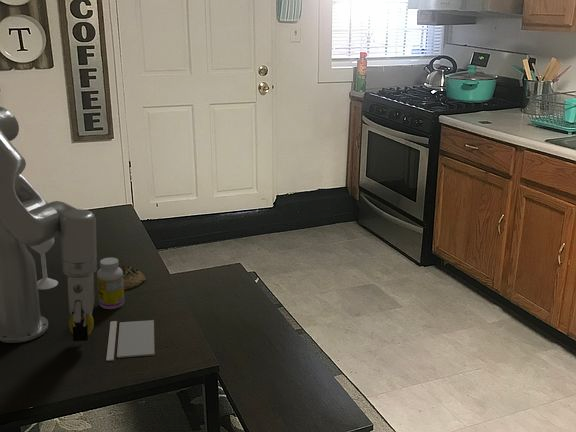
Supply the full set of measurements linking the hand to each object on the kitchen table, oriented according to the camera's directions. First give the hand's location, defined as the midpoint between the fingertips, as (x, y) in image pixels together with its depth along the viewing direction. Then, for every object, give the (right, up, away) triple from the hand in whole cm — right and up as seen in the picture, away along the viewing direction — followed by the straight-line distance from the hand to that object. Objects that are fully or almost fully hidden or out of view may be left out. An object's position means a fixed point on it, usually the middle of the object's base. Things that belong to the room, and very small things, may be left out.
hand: (81, 332), depth 147 cm
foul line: (+6, -3, +4) cm, 8 cm away
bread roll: (+2, +8, +35) cm, 36 cm away
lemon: (0, -2, +1) cm, 2 cm away
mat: (+12, -2, +5) cm, 13 cm away
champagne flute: (-21, +8, +31) cm, 38 cm away
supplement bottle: (+1, +3, +21) cm, 21 cm away
